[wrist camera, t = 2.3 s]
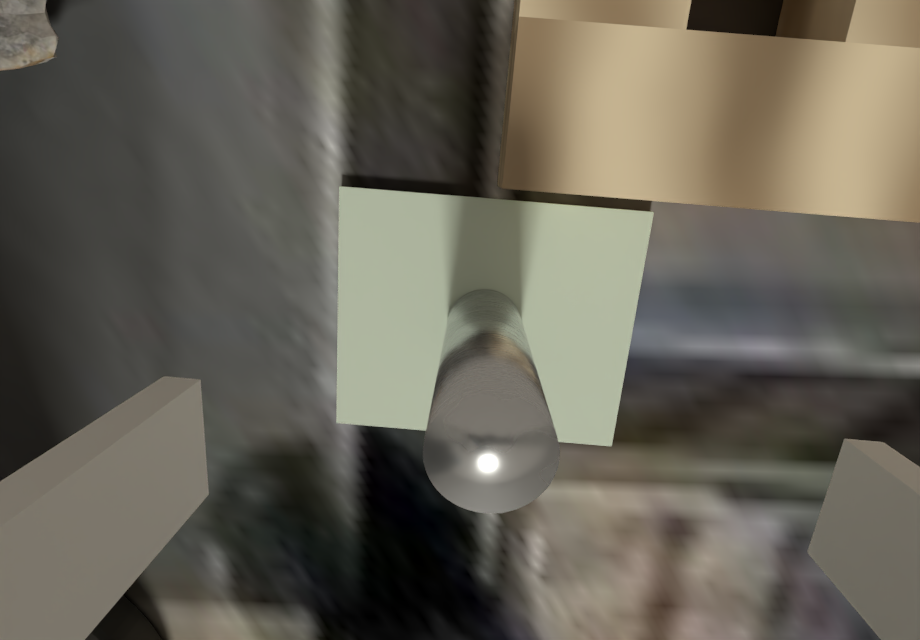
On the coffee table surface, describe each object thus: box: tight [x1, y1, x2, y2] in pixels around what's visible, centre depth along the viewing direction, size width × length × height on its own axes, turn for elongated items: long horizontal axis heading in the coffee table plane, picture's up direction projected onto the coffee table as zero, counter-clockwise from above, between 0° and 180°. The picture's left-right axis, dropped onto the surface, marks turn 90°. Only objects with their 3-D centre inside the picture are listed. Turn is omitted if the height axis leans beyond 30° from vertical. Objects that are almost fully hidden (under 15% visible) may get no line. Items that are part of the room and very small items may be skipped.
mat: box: [336, 186, 654, 446], centre depth 21 cm, size 12×10×1 cm
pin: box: [423, 289, 560, 513], centre depth 16 cm, size 3×3×10 cm
